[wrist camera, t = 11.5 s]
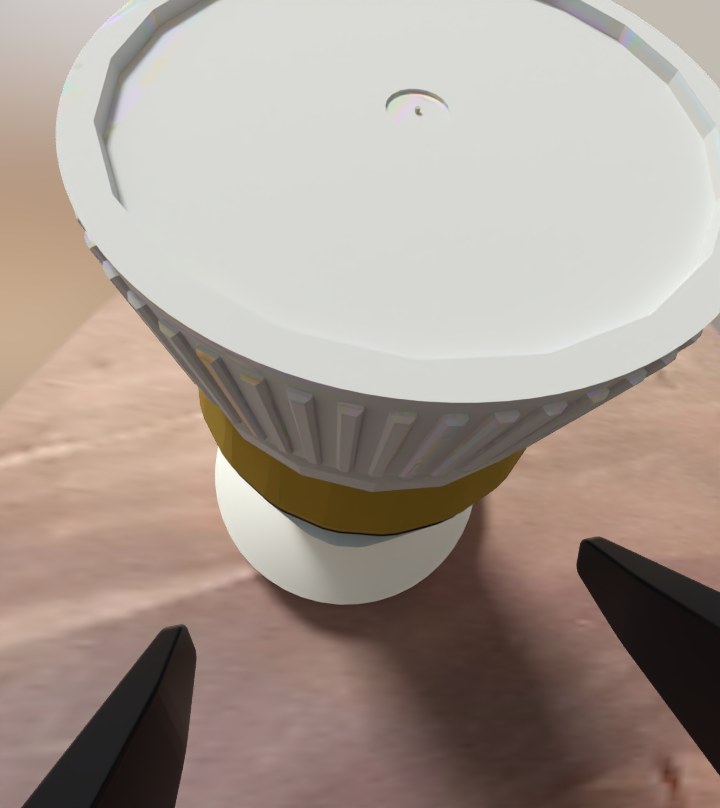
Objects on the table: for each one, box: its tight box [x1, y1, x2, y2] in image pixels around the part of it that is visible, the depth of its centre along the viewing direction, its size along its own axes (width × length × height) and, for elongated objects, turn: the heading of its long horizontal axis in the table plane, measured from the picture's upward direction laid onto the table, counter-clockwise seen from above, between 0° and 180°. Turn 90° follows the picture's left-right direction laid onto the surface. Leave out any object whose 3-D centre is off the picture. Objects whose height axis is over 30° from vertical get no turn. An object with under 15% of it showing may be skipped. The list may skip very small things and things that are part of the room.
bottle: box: [56, 0, 720, 547], centre depth 10 cm, size 7×7×15 cm
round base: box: [215, 447, 473, 605], centre depth 18 cm, size 12×12×2 cm
